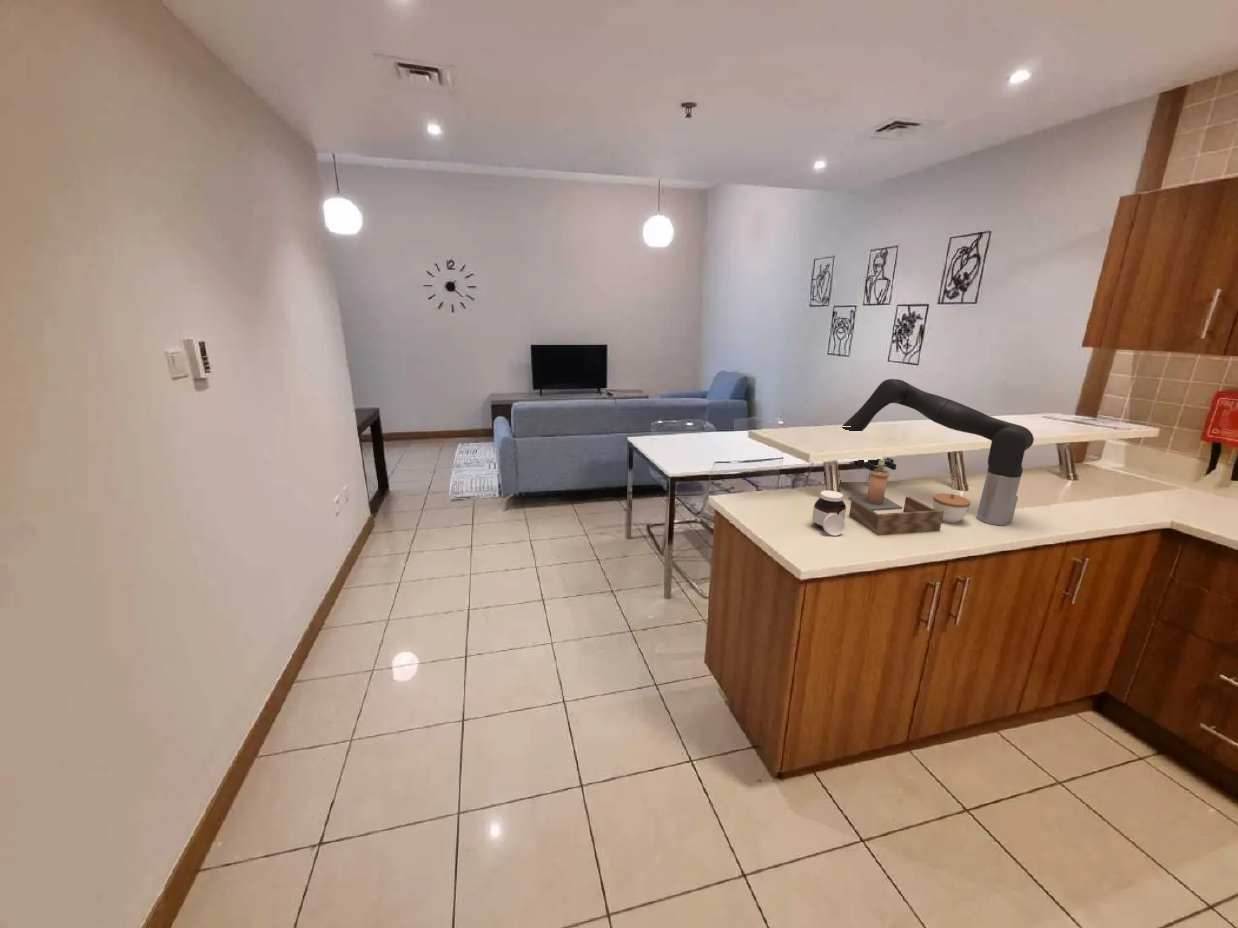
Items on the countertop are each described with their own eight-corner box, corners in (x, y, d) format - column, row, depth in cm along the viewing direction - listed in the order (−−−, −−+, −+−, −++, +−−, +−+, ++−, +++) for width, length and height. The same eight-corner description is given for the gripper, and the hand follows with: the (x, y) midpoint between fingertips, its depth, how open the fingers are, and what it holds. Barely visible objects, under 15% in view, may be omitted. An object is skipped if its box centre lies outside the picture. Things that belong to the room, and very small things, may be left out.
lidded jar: (932, 510, 181) (937, 486, 178) (967, 518, 175) (973, 493, 172) (926, 520, 173) (932, 495, 170) (963, 528, 167) (969, 502, 164)
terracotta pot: (876, 498, 191) (884, 455, 186) (887, 504, 185) (896, 460, 180) (861, 499, 190) (868, 456, 185) (872, 505, 184) (879, 461, 179)
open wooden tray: (905, 512, 180) (909, 493, 178) (939, 530, 165) (944, 511, 163) (849, 515, 177) (851, 497, 175) (878, 535, 162) (881, 515, 159)
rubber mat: (880, 496, 194) (881, 495, 194) (902, 508, 183) (902, 507, 183) (847, 498, 192) (848, 497, 192) (867, 510, 181) (867, 509, 181)
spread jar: (828, 519, 174) (832, 488, 170) (856, 531, 164) (861, 498, 161) (803, 526, 168) (807, 493, 165) (831, 539, 159) (836, 505, 155)
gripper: (842, 447, 194) (868, 458, 179) (875, 445, 196) (904, 457, 181) (839, 465, 196) (865, 478, 181) (872, 463, 199) (900, 476, 183)
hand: (884, 467), depth 181 cm, fingers open, 8 cm apart
